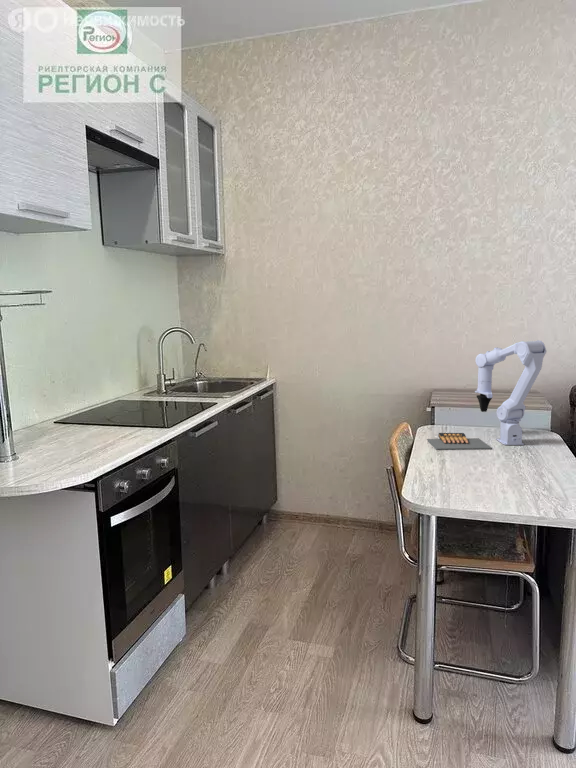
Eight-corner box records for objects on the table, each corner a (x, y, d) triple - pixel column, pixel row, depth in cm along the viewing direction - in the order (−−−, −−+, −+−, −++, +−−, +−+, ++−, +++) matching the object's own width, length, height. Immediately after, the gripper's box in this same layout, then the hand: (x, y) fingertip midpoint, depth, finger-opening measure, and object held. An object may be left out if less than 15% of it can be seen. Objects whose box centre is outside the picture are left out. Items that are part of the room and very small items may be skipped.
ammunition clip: (464, 432, 230) (470, 440, 219) (463, 437, 231) (470, 445, 219) (438, 432, 232) (443, 440, 220) (438, 437, 232) (443, 445, 220)
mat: (492, 449, 213) (492, 447, 213) (436, 450, 214) (436, 448, 214) (478, 439, 229) (478, 438, 229) (426, 440, 230) (426, 439, 229)
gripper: (470, 378, 242) (469, 408, 244) (481, 383, 228) (480, 414, 230) (486, 378, 242) (485, 408, 244) (497, 383, 227) (496, 414, 229)
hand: (483, 411), depth 237 cm, fingers closed
